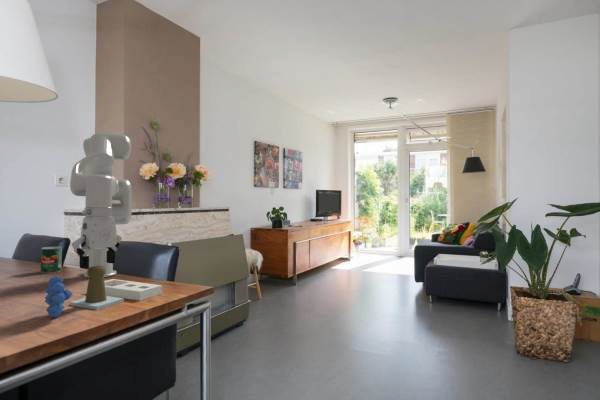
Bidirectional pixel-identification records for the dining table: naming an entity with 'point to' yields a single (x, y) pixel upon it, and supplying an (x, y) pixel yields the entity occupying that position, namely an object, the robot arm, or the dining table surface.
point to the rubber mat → (98, 305)
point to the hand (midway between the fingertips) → (97, 265)
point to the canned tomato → (51, 259)
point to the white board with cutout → (131, 289)
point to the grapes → (56, 296)
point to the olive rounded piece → (96, 285)
